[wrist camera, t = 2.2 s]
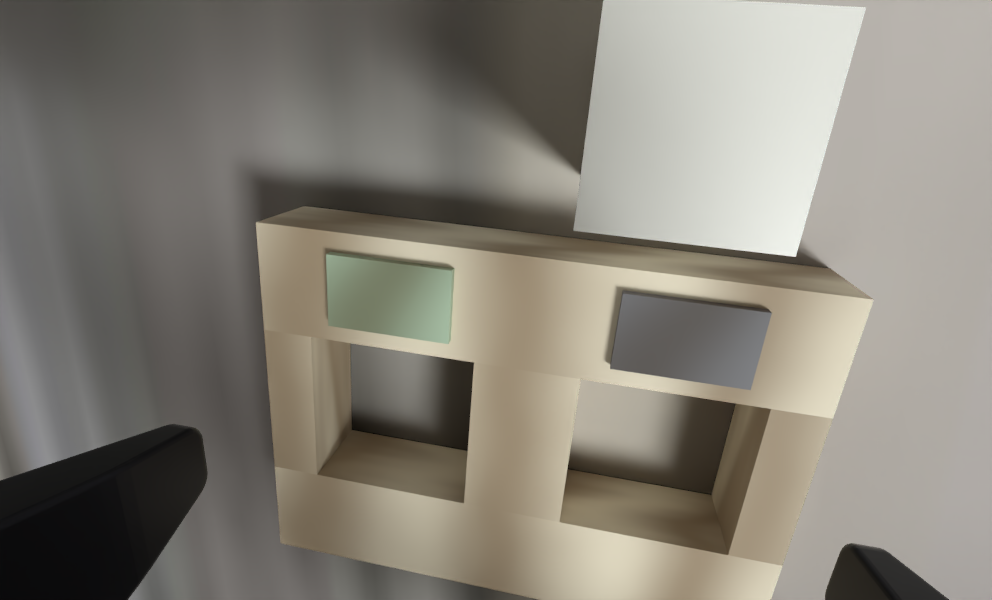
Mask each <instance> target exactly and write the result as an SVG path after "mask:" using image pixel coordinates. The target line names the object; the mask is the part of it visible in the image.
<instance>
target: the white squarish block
mask: <svg viewBox="0 0 992 600" xmlns="http://www.w3.org/2000/svg"><path fill="white" fill-rule="evenodd" d="M865 9H866V7H848V6H829V5H810V4H791V3H772V2H754V1H735V0H603V7H602V14H601V22H600V30H599V37H598V45H597V53H596V60H595V68H594V76H593V84H592V91H591V99H590V107H589V114H588V122H587V130H586V137H585V145H584V153H583V160H582V168H581V176H580V183H579V191H578V199H577V206H576V214H575V222H574V229H573V231H579V232H588V233H596V234H605V235H613V236H622V237H630V238H639V239H647V240H656V241H664V242H673V243H681V244H690V245H698V246H707V247H715V248H724V249H732V250H741V251H750V252H758V253H767V254H775V255H784V256H792V257H796V254H797V251H798V247H799V244H800V240H801V236H802V233H803V229H804V226H805V222H806V219H807V215H808V212H809V208H810V205H811V201H812V197H813V194H814V190H815V187H816V183H817V180H818V176H819V173H820V169H821V165H822V162H823V158H824V155H825V151H826V148H827V144H828V141H829V137H830V133H831V130H832V126H833V123H834V119H835V116H836V112H837V109H838V105H839V102H840V98H841V94H842V91H843V87H844V84H845V80H846V77H847V73H848V70H849V66H850V62H851V59H852V55H853V52H854V48H855V45H856V41H857V38H858V34H859V31H860V27H861V23H862V20H863V16H864V13H865Z"/></svg>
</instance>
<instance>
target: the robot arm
mask: <svg viewBox="0 0 992 600" xmlns="http://www.w3.org/2000/svg"><path fill="white" fill-rule="evenodd" d="M206 480H207V466H206V459H205V452H204V445H203V438H202V435H201V433H200V431H199V430H198V429H196V428H194V427H188V426H182V425H176V424H170V425H166V426H163V427H160V428H157V429H154V430H151V431H148V432H145V433H142V434H139V435H136V436H133V437H130V438H127V439H124V440H121V441H118V442H115V443H112V444H109V445H106V446H103V447H100V448H97V449H94V450H91V451H88V452H85V453H82V454H79V455H76V456H73V457H70V458H67V459H64V460H61V461H58V462H55V463H52V464H49V465H46V466H43V467H40V468H37V469H34V470H31V471H28V472H25V473H22V474H19V475H16V476H13V477H10V478H7V479H4V480H1V481H0V600H128V599H129V597H130V596H131V595H132V593H133V592H134V591H135V589H136V588H137V587H138V586H139V584H140V583H141V581H142V580H143V578H144V577H145V576H146V574H147V573H148V571H149V570H150V569H151V567H152V566H153V564H154V563H155V561H156V560H157V558H158V557H159V555H160V554H161V552H162V551H163V549H164V548H165V546H166V545H167V543H168V542H169V540H170V539H171V537H172V536H173V534H174V533H175V531H176V530H177V528H178V527H179V525H180V524H181V522H182V521H183V519H184V518H185V516H186V515H187V513H188V512H189V510H190V509H191V507H192V506H193V504H194V503H195V501H196V500H197V498H198V497H199V495H200V494H201V492H202V490H203V488H204V486H205V484H206ZM825 600H949V599H948V598H946V597H945V596H944V595H942V594H941V593H940V592H939V591H937V590H936V589H935V588H933V587H932V586H931V585H930V584H928V583H927V582H926V581H924V580H923V579H922V578H921V577H919V576H918V575H917V574H915V573H914V572H913V571H912V570H910V569H909V568H908V567H906V566H905V565H904V564H903V563H901V562H900V561H899V560H897V559H896V558H895V557H894V556H892V555H891V554H890V553H888V552H887V551H885V550H883V549H880V548H876V547H871V546H865V545H859V544H854V543H851V544H847V545H845V546H844V547H843V548H842V550H841V552H840V554H839V557H838V560H837V562H836V565H835V568H834V570H833V573H832V576H831V578H830V581H829V584H828V586H827V589H826V594H825Z"/></svg>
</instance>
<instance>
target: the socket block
mask: <svg viewBox="0 0 992 600" xmlns="http://www.w3.org/2000/svg"><path fill="white" fill-rule="evenodd" d="M256 232H257V245H258V258H259V271H260V284H261V296H262V309H263V322H264V335H265V348H266V361H267V373H268V386H269V399H270V412H271V425H272V438H273V450H274V463H275V476H276V489H277V502H278V515H279V527H280V540H281V543H282V544H286V545H291V546H296V547H300V548H305V549H309V550H314V551H319V552H323V553H328V554H332V555H337V556H341V557H346V558H351V559H355V560H360V561H364V562H369V563H374V564H378V565H383V566H387V567H392V568H397V569H401V570H406V571H410V572H415V573H419V574H424V575H429V576H433V577H438V578H442V579H447V580H452V581H456V582H461V583H465V584H470V585H475V586H479V587H484V588H488V589H493V590H497V591H502V592H507V593H511V594H516V595H520V596H525V597H530V598H534V599H539V600H771V598H772V595H773V592H774V589H775V586H776V583H777V580H778V577H779V575H780V572H781V569H782V566H783V563H784V560H785V557H786V554H787V551H788V548H789V545H790V542H791V540H792V537H793V534H794V531H795V528H796V525H797V522H798V519H799V516H800V513H801V510H802V507H803V505H804V502H805V499H806V496H807V493H808V490H809V487H810V484H811V481H812V478H813V475H814V472H815V470H816V467H817V464H818V461H819V458H820V455H821V452H822V449H823V446H824V443H825V440H826V437H827V434H828V432H829V429H830V426H831V423H832V420H833V417H834V414H835V411H836V408H837V405H838V402H839V399H840V397H841V394H842V391H843V388H844V385H845V382H846V379H847V376H848V373H849V370H850V367H851V364H852V362H853V359H854V356H855V353H856V350H857V347H858V344H859V341H860V338H861V335H862V332H863V329H864V326H865V324H866V321H867V318H868V315H869V312H870V309H871V306H872V303H873V300H874V299H872V298H871V297H869V296H868V295H866V294H865V293H864V292H862V291H861V290H859V289H858V288H857V287H855V286H854V285H852V284H851V283H850V282H848V281H847V280H845V279H844V278H843V277H841V276H840V275H838V274H837V273H836V272H834V271H833V270H831V269H830V268H821V267H813V266H804V265H796V264H787V263H779V262H771V261H762V260H754V259H745V258H737V257H729V256H720V255H712V254H703V253H695V252H687V251H678V250H670V249H661V248H653V247H645V246H636V245H628V244H619V243H611V242H602V241H594V240H586V239H577V238H569V237H560V236H552V235H544V234H535V233H527V232H518V231H510V230H502V229H493V228H485V227H476V226H468V225H460V224H451V223H443V222H434V221H426V220H418V219H409V218H401V217H392V216H384V215H375V214H367V213H359V212H350V211H342V210H333V209H325V208H317V207H308V206H303V207H300V208H297V209H294V210H291V211H288V212H285V213H282V214H279V215H276V216H273V217H270V218H267V219H264V220H261V221H258V222H256ZM350 343H352V344H359V345H365V346H372V347H378V348H384V349H391V350H397V351H404V352H410V353H416V354H423V355H429V356H436V357H442V358H448V359H455V360H461V361H467V362H474V370H473V384H472V398H471V412H470V426H469V440H468V451H465V450H459V449H454V448H448V447H443V446H437V445H432V444H426V443H421V442H415V441H410V440H404V439H399V438H393V437H388V436H382V435H377V434H371V433H366V432H360V431H355V430H352V411H351V354H350ZM581 379H582V380H589V381H595V382H602V383H608V384H614V385H621V386H627V387H634V388H640V389H646V390H653V391H659V392H666V393H672V394H678V395H685V396H691V397H697V398H704V399H710V400H717V401H723V402H729V403H736V405H735V409H734V412H733V416H732V420H731V424H730V427H729V431H728V435H727V439H726V442H725V446H724V450H723V454H722V457H721V461H720V465H719V469H718V472H717V476H716V480H715V484H714V487H713V491H712V495H708V494H702V493H697V492H691V491H686V490H680V489H675V488H669V487H664V486H658V485H653V484H647V483H642V482H636V481H631V480H625V479H620V478H614V477H608V476H603V475H597V474H592V473H586V472H581V471H575V470H570V469H567V468H568V462H569V455H570V448H571V442H572V435H573V428H574V422H575V415H576V408H577V402H578V395H579V388H580V382H581Z"/></svg>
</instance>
